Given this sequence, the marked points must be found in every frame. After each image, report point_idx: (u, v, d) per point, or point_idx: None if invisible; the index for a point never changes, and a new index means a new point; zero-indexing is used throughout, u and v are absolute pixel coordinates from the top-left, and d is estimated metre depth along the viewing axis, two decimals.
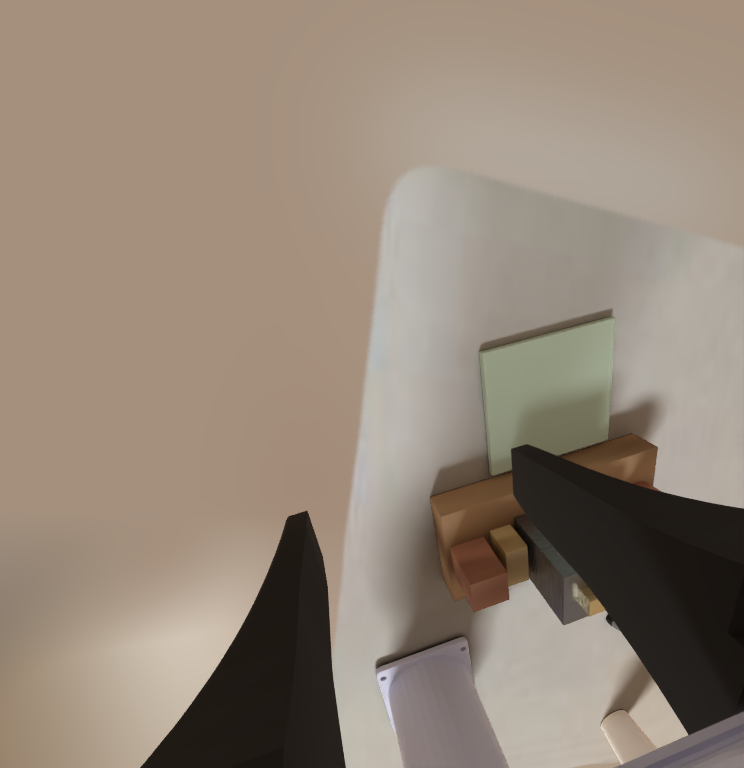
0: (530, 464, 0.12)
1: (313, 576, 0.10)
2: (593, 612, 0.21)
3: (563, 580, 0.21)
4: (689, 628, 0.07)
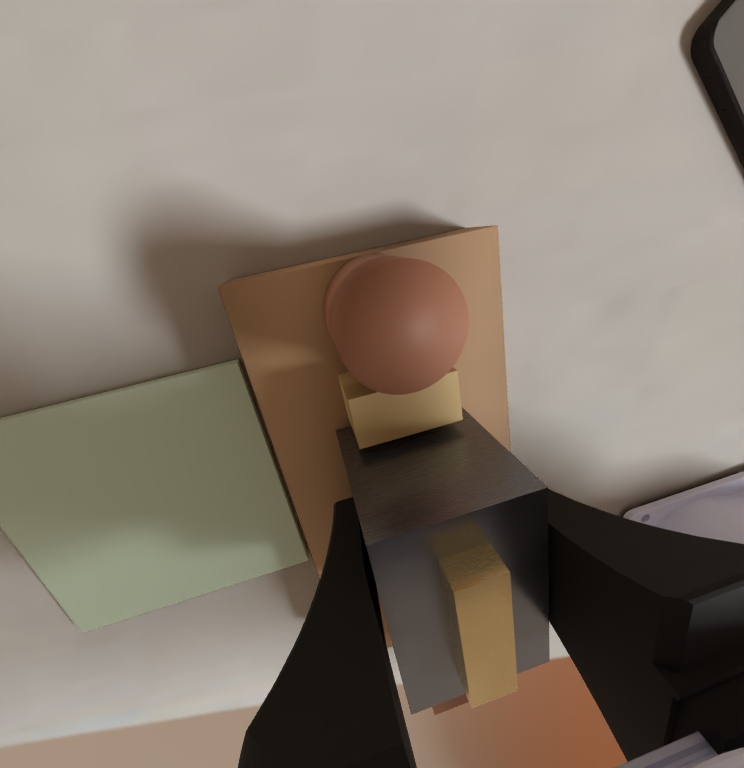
0: None
1: (367, 558, 0.10)
2: (509, 687, 0.09)
3: (420, 710, 0.10)
4: (621, 655, 0.07)
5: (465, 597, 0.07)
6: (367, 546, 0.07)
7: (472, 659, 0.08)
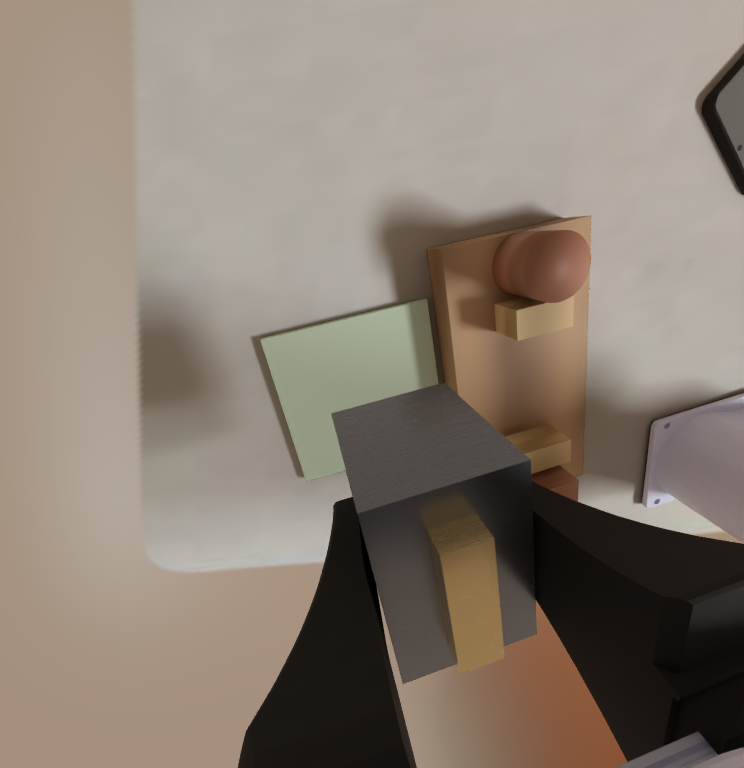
0: None
1: (367, 558, 0.10)
2: (496, 654, 0.09)
3: (411, 679, 0.10)
4: (621, 655, 0.07)
5: (451, 562, 0.08)
6: (358, 514, 0.08)
7: (459, 625, 0.08)
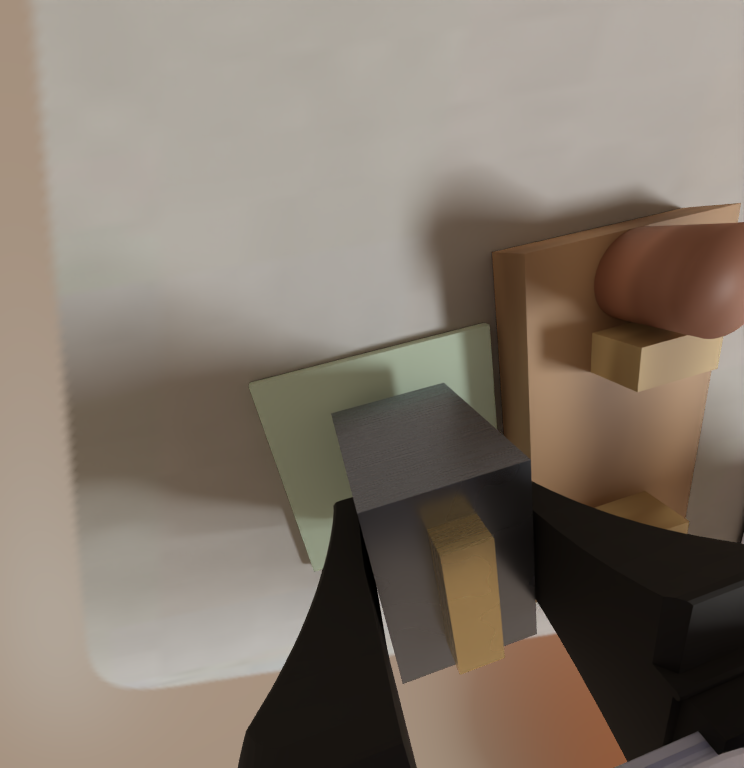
0: None
1: (367, 558, 0.10)
2: (496, 654, 0.09)
3: (411, 679, 0.10)
4: (621, 655, 0.07)
5: (451, 562, 0.08)
6: (358, 514, 0.08)
7: (459, 625, 0.08)
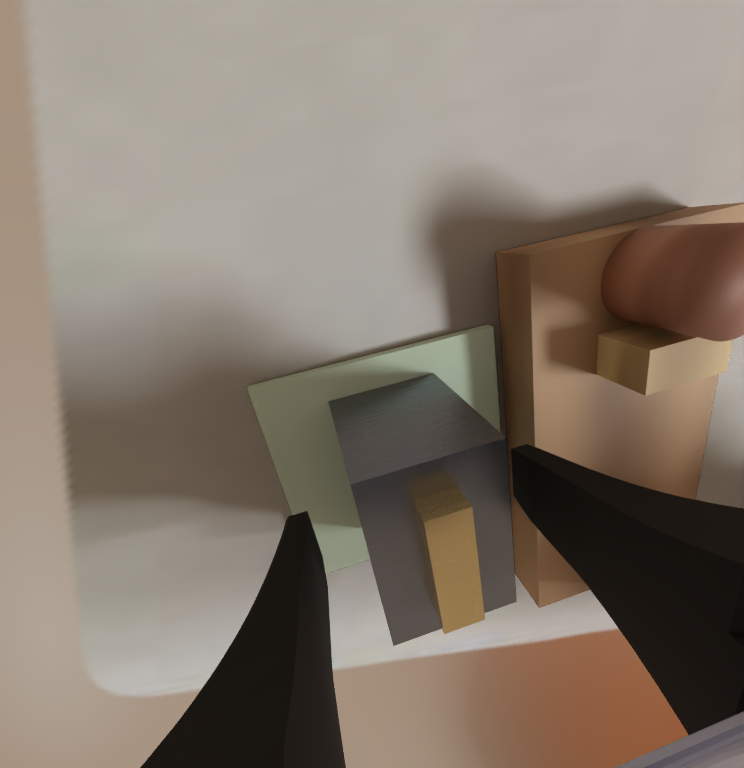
0: (530, 464, 0.12)
1: (313, 576, 0.10)
2: (477, 615, 0.10)
3: (401, 642, 0.11)
4: (689, 628, 0.07)
5: (434, 528, 0.09)
6: (351, 485, 0.09)
7: (442, 586, 0.09)
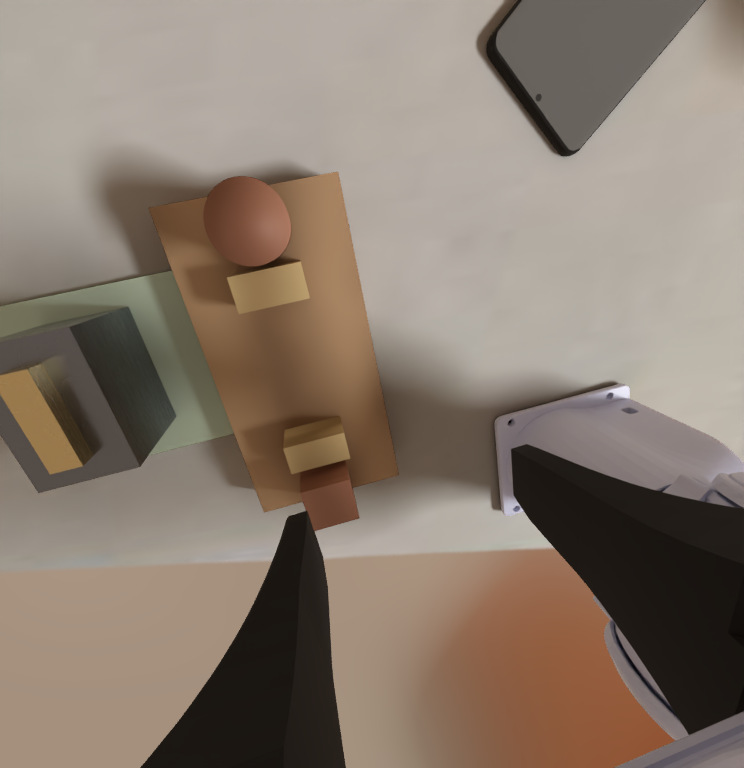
0: (530, 464, 0.12)
1: (313, 576, 0.10)
2: (74, 462, 0.14)
3: (45, 490, 0.15)
4: (689, 628, 0.07)
5: (1, 383, 0.13)
6: None
7: (30, 433, 0.13)
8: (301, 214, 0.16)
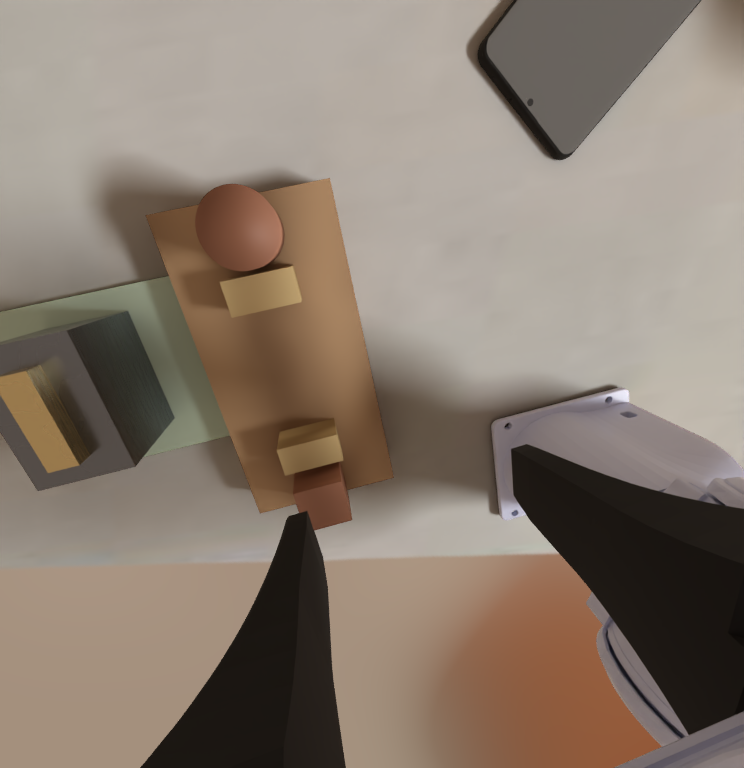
0: (530, 464, 0.12)
1: (313, 576, 0.10)
2: (70, 461, 0.15)
3: None
4: (689, 628, 0.07)
5: (1, 384, 0.13)
6: None
7: (29, 432, 0.14)
8: (294, 220, 0.17)
